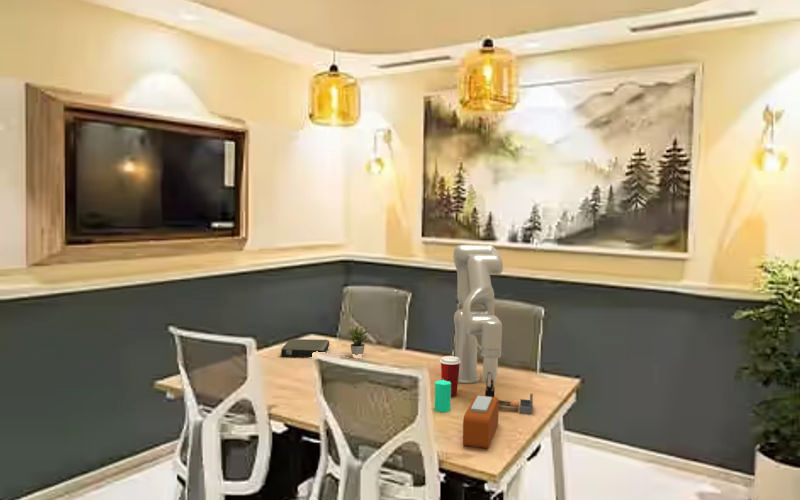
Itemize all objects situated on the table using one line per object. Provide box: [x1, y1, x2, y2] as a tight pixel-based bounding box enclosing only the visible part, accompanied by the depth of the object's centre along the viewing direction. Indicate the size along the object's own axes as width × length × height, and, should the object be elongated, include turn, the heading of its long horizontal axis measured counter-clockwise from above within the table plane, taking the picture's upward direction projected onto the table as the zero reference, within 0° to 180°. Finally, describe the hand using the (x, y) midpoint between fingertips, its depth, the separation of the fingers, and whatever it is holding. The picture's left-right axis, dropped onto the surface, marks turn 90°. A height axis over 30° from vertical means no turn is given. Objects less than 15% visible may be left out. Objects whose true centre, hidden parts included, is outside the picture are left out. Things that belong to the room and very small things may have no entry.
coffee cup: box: [439, 355, 460, 398], centre depth 245 cm, size 8×8×15 cm
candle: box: [434, 379, 452, 413], centre depth 227 cm, size 6×6×12 cm
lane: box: [499, 399, 519, 413], centre depth 231 cm, size 17×7×2 cm, turn 77°
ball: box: [509, 399, 520, 408], centre depth 230 cm, size 3×3×3 cm
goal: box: [519, 393, 534, 415], centre depth 229 cm, size 5×9×5 cm, turn 167°
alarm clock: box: [462, 394, 500, 449], centre depth 204 cm, size 24×8×11 cm, turn 163°
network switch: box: [280, 338, 330, 358], centre depth 307 cm, size 23×23×5 cm
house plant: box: [345, 325, 373, 355], centre depth 298 cm, size 14×14×16 cm
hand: (489, 398), depth 232 cm, fingers closed on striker, 2 cm apart
